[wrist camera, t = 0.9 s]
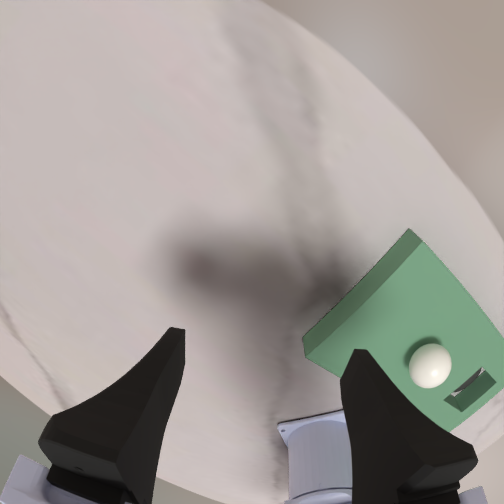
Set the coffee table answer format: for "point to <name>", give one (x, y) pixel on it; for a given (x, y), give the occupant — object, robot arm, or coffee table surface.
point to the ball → (430, 365)
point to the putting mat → (415, 331)
